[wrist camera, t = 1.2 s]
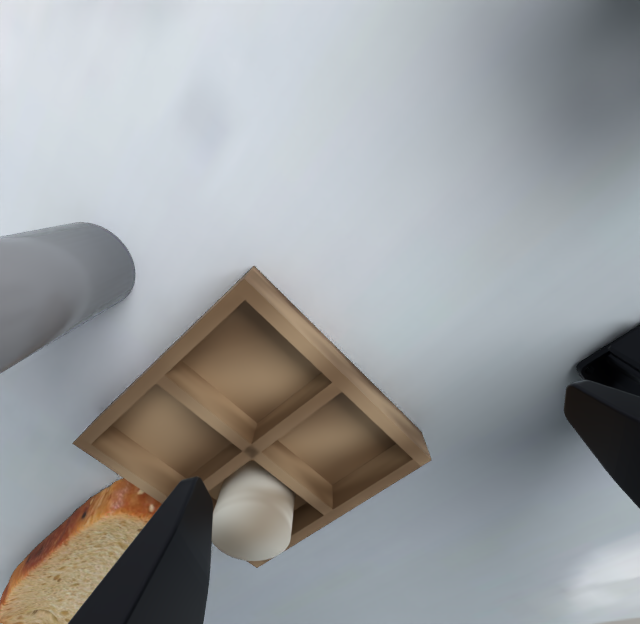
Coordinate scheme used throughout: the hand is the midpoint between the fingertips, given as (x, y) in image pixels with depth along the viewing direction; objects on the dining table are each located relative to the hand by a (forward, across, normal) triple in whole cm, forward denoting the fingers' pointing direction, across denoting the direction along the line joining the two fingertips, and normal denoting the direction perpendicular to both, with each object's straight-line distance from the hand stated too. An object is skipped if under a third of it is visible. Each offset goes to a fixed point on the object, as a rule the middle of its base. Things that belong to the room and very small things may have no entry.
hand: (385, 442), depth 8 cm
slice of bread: (+14, +24, +20) cm, 35 cm away
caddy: (+12, +7, +9) cm, 17 cm away
